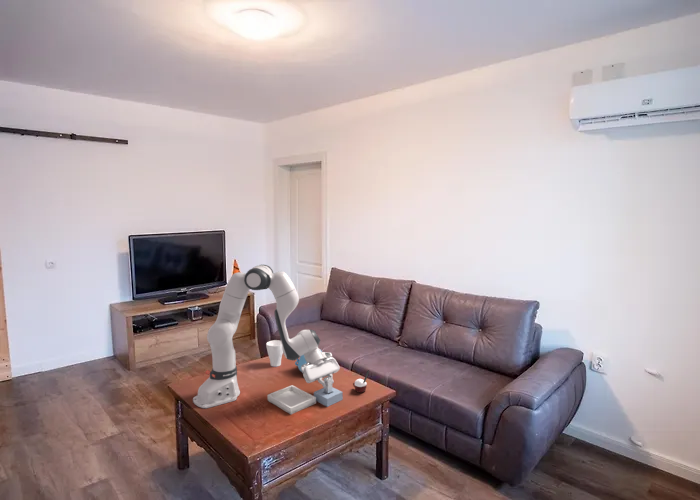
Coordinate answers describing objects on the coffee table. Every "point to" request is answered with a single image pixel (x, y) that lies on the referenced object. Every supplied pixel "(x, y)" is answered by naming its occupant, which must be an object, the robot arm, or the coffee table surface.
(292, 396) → the tray
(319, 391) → the socket block
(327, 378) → the pin
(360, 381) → the cocoa
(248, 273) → the robot arm
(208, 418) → the coffee table surface
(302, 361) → the decorative pot
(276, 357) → the cup
